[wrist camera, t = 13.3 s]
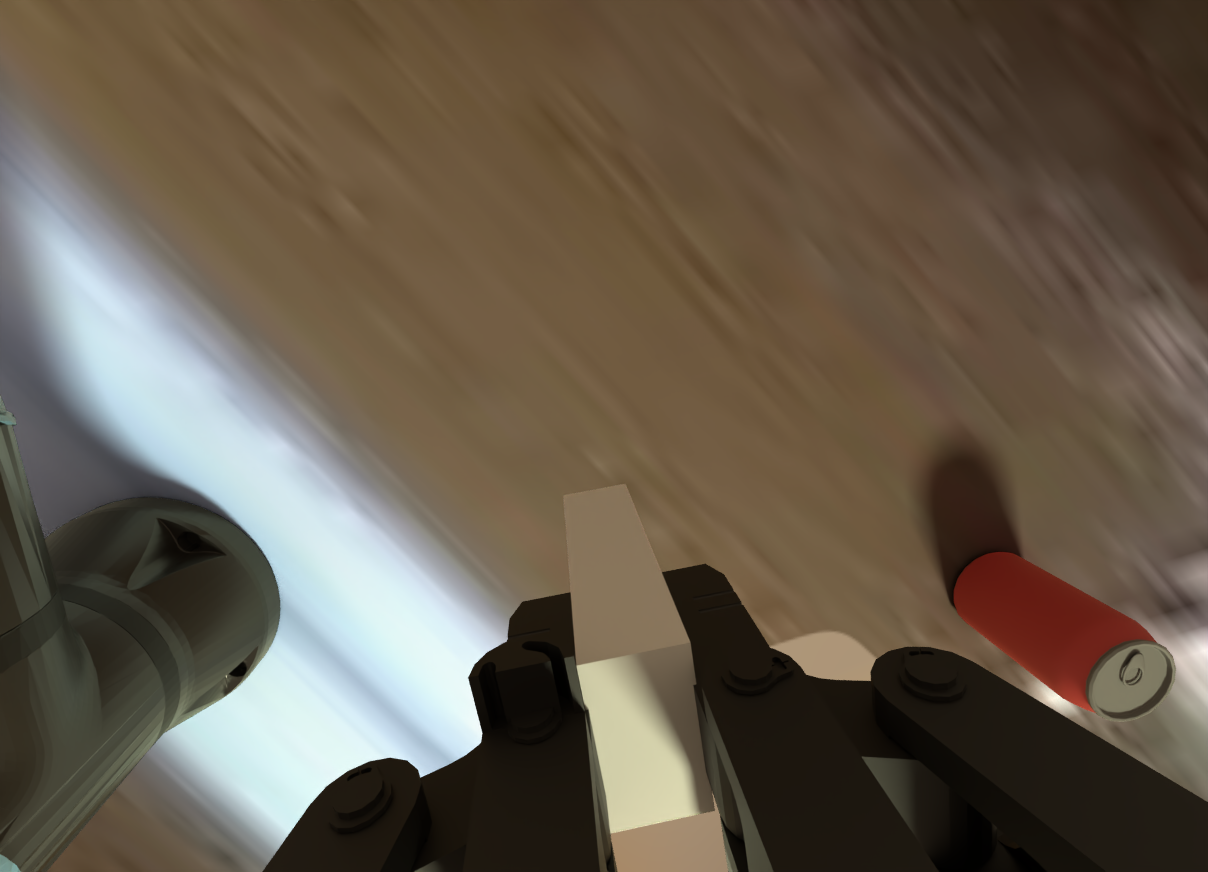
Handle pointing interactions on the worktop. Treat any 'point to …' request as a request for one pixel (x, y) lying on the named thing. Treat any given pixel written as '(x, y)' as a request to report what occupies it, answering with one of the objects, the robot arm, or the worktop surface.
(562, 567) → the worktop surface
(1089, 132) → the worktop surface
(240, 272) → the worktop surface
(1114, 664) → the beer can
